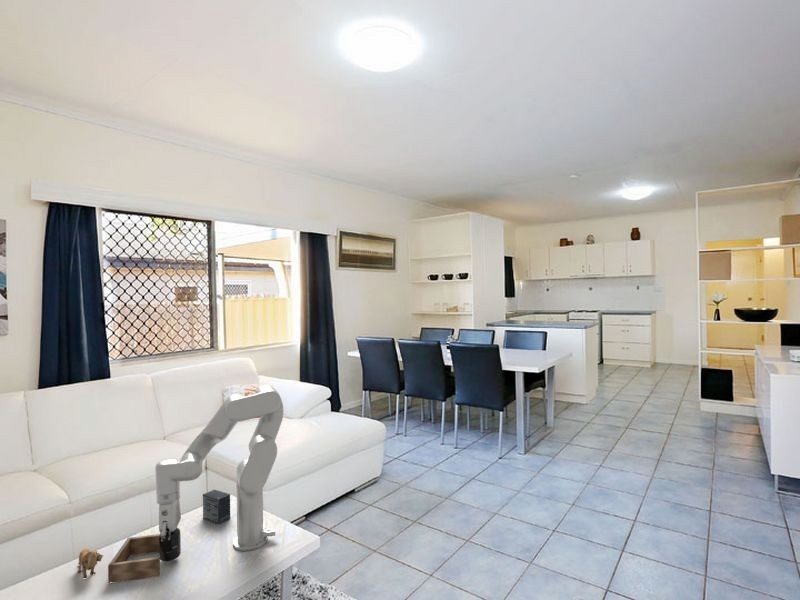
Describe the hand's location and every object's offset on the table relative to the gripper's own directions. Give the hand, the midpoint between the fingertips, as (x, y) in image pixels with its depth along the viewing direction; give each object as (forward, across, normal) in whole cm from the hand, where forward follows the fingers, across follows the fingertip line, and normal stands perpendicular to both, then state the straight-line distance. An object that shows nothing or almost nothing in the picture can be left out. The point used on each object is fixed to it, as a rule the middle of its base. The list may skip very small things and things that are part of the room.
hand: (170, 544), depth 158 cm
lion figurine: (+6, 0, +26) cm, 27 cm away
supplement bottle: (+4, 0, 0) cm, 4 cm away
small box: (+6, +29, -11) cm, 31 cm away
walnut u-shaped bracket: (+6, 0, +8) cm, 10 cm away
